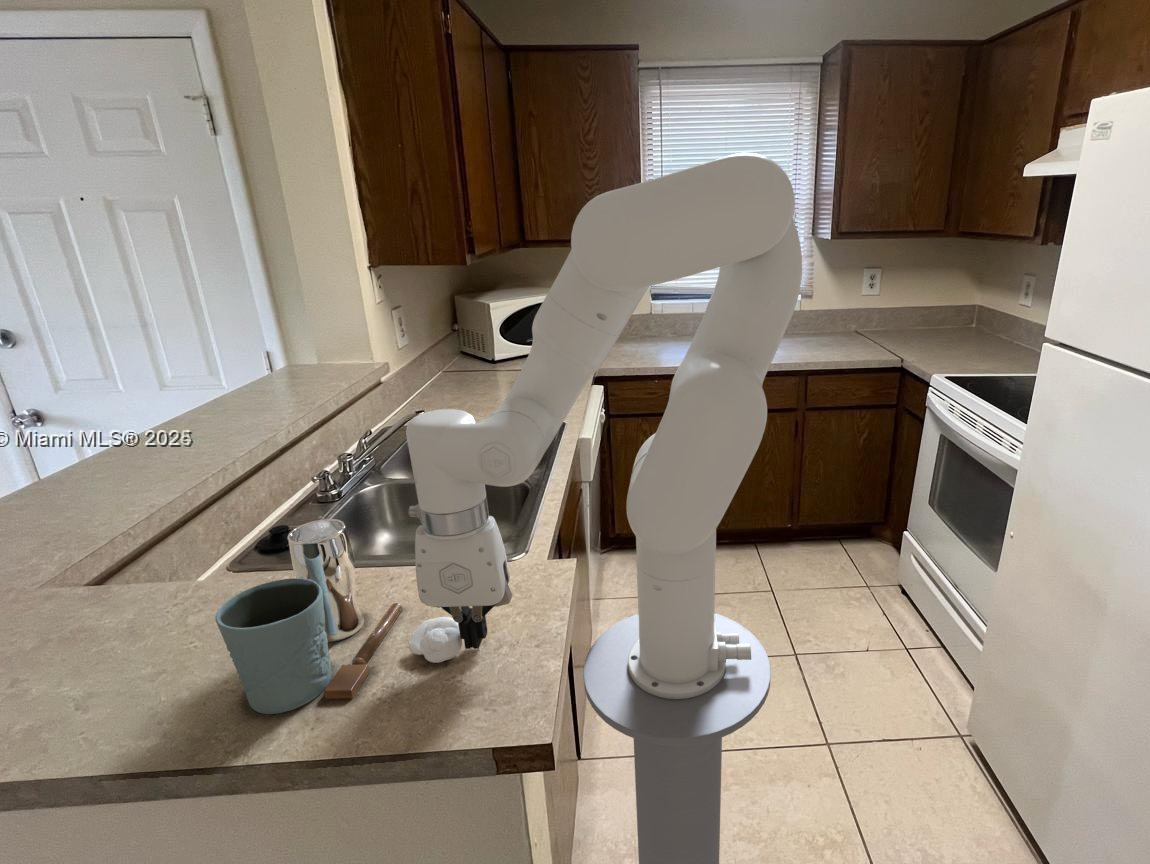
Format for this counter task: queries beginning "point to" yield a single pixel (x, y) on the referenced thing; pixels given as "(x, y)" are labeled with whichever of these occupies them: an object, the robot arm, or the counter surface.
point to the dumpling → (436, 639)
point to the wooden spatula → (360, 660)
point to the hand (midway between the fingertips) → (475, 641)
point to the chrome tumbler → (329, 572)
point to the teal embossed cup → (278, 643)
